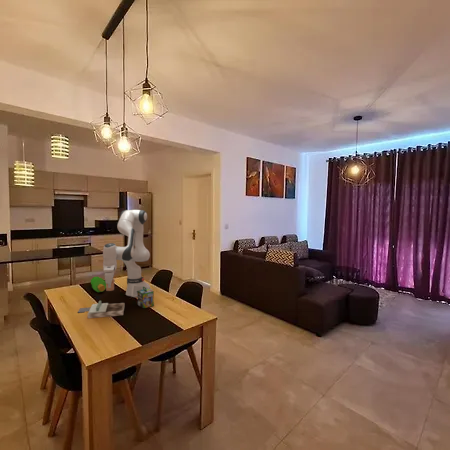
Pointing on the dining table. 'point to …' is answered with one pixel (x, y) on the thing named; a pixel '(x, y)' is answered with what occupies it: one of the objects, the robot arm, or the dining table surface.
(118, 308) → the sliding lid box
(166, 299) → the dining table surface
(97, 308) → the sliding lid panel
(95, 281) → the decorative tree
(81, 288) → the dining table surface
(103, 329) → the dining table surface
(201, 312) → the dining table surface
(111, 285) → the terracotta knob
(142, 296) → the chalk box
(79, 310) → the slate tile
